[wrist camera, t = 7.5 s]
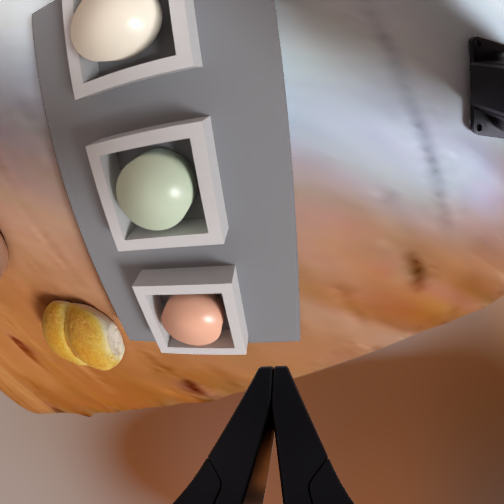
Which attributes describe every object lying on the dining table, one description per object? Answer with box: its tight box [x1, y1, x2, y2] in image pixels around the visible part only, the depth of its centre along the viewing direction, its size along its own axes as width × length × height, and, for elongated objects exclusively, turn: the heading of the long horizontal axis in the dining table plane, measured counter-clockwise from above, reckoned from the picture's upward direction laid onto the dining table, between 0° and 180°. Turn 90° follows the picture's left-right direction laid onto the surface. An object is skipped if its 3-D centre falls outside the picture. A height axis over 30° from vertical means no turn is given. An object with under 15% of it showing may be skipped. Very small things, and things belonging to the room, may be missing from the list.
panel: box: [32, 0, 300, 355], centre depth 17 cm, size 14×26×4 cm, turn 7°
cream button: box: [71, 0, 163, 61], centre depth 10 cm, size 4×4×2 cm
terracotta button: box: [161, 294, 225, 346], centre depth 20 cm, size 4×4×2 cm
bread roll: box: [42, 300, 125, 370], centre depth 26 cm, size 8×9×4 cm
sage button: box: [116, 148, 197, 230], centre depth 15 cm, size 4×4×2 cm
